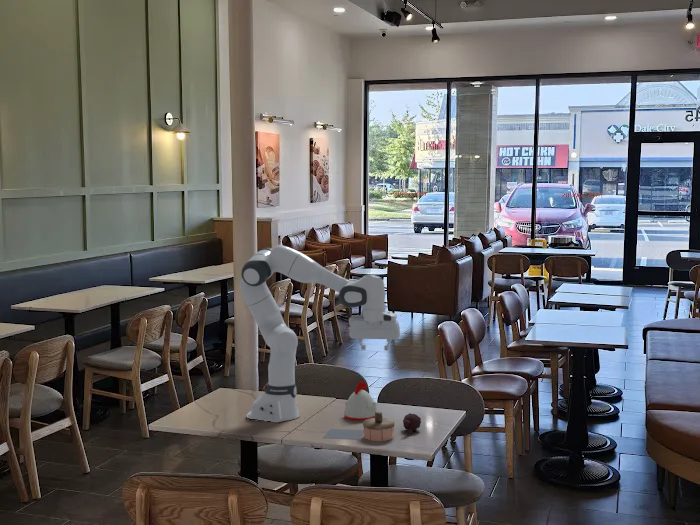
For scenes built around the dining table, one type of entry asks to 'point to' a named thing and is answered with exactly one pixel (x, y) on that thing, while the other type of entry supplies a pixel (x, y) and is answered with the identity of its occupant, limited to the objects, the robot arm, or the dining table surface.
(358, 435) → the mat
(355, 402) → the kitchen timer
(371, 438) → the bowl
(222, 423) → the dining table surface
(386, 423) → the lid
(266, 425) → the dining table surface
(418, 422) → the icecream
